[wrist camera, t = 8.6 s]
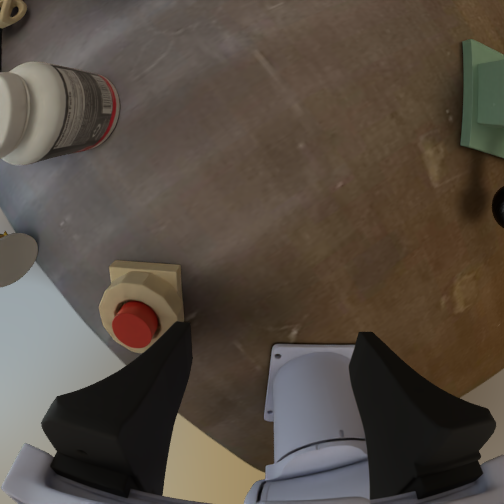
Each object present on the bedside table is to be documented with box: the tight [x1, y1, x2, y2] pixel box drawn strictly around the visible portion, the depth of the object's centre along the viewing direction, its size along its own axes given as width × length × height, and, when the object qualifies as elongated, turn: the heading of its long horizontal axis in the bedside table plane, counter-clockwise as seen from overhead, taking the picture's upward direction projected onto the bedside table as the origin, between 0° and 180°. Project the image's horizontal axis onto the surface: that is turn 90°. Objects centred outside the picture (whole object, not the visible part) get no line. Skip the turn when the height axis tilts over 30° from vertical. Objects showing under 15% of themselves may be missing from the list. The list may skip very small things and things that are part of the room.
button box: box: [99, 260, 184, 353], centre depth 21 cm, size 6×6×3 cm
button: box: [112, 301, 158, 348], centre depth 19 cm, size 3×3×2 cm
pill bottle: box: [0, 61, 120, 165], centre depth 13 cm, size 5×5×10 cm
